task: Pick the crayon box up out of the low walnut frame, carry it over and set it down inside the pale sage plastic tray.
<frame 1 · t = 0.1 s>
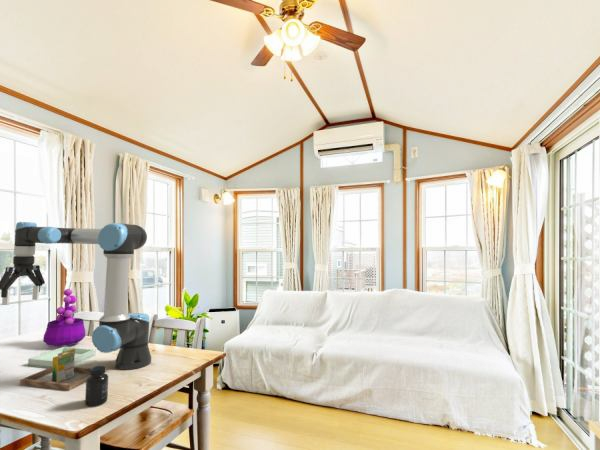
hand: (21, 302, 152), 28 cm above the table, fingers open, 13 cm apart
crayon box: (62, 379, 136), resting in walnut frame
decorative plant: (64, 345, 180), on the table
supplement bottle: (96, 403, 117), on the table
walnut frame: (62, 379, 136), on the table
sage tray: (63, 360, 157), on the table
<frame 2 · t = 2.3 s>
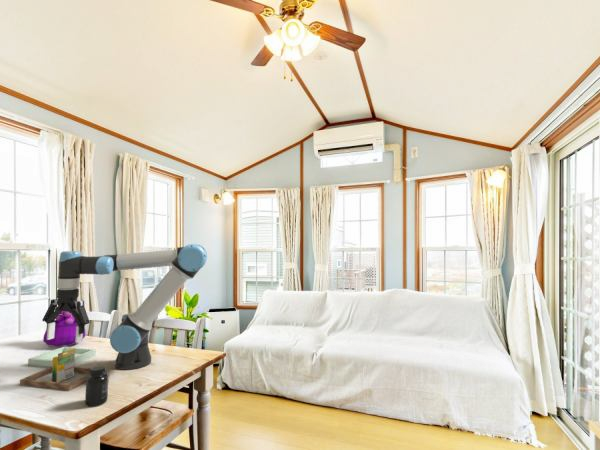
hand: (64, 340, 137), 16 cm above the table, fingers open, 13 cm apart
nothing on the table moved.
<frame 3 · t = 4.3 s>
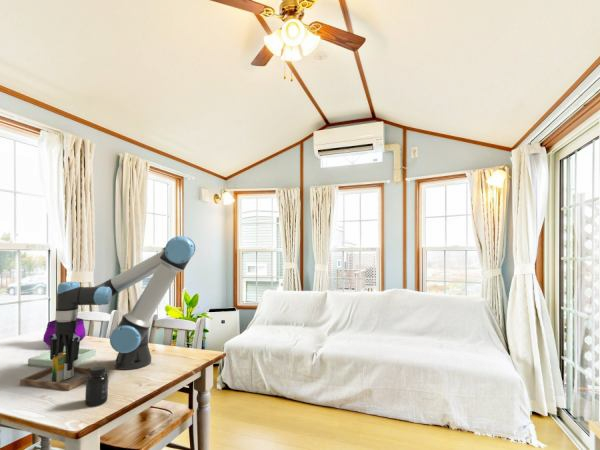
hand: (62, 377, 136), 1 cm above the table, fingers closed on crayon box, 3 cm apart
crayon box: (62, 379, 136), resting in walnut frame, touching gripper
everything else where it was.
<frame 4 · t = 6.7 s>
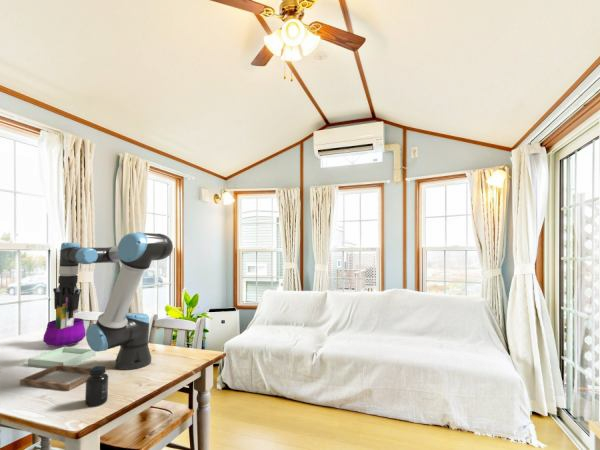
hand: (65, 324, 157), 17 cm above the table, fingers closed on crayon box, 3 cm apart
crayon box: (64, 327, 157), point 16 cm above the table, touching gripper
everything else where it was.
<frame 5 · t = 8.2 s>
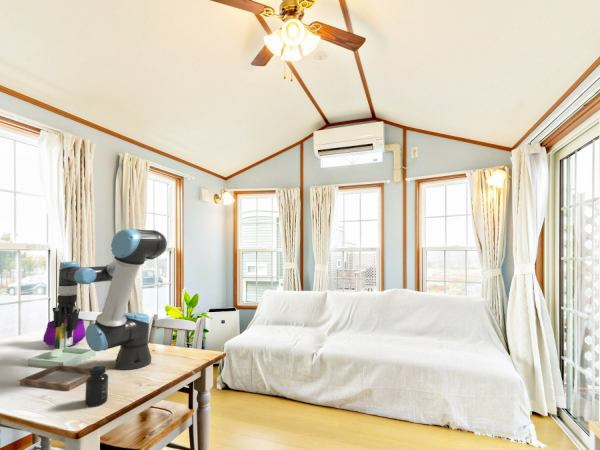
hand: (64, 344, 157), 8 cm above the table, fingers closed on crayon box, 3 cm apart
crayon box: (63, 346, 157), point 6 cm above the table, touching gripper
everything else where it was.
when the fingers open (3 cm above the table, at t = 9.2 s): crayon box stays where it is, resting on sage tray.
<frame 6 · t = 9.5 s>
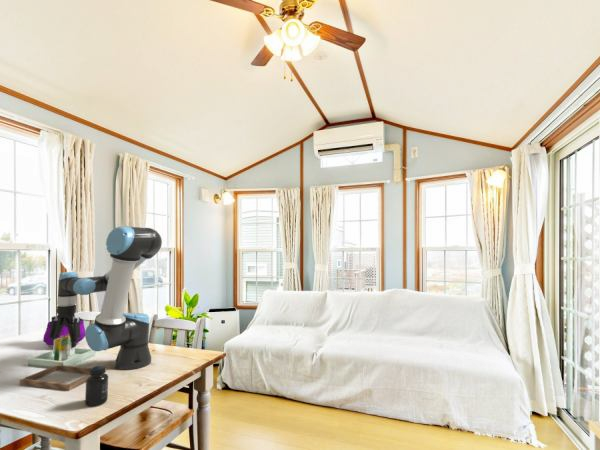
hand: (63, 353, 157), 3 cm above the table, fingers open, 8 cm apart
crayon box: (63, 359, 157), point 1 cm above the table, touching sage tray
everything else where it was.
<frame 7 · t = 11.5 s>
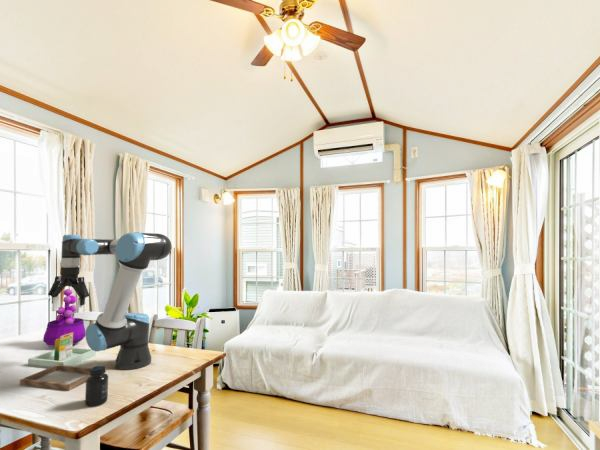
hand: (67, 311, 158), 23 cm above the table, fingers open, 13 cm apart
nothing on the table moved.
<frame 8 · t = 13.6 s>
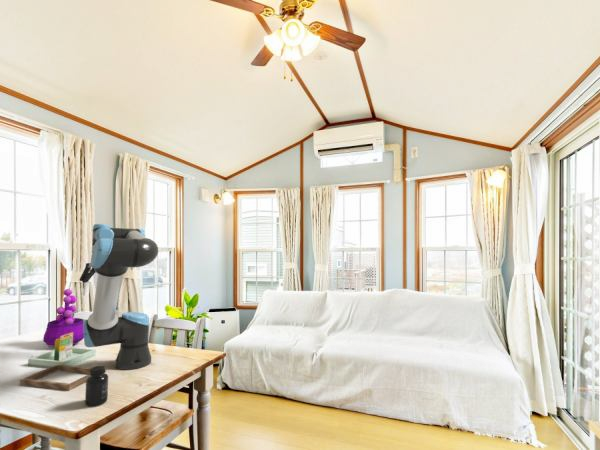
hand: (97, 295, 169), 29 cm above the table, fingers open, 13 cm apart
nothing on the table moved.
at the end: crayon box inside the target area on the sage tray (0.2 cm from its centre), point 0.6 cm above the sage tray's base; the gripper is holding nothing; crayon box moved 25.3 cm from its start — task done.
